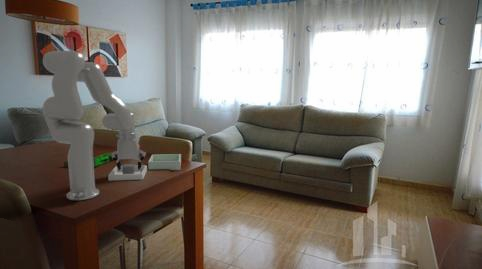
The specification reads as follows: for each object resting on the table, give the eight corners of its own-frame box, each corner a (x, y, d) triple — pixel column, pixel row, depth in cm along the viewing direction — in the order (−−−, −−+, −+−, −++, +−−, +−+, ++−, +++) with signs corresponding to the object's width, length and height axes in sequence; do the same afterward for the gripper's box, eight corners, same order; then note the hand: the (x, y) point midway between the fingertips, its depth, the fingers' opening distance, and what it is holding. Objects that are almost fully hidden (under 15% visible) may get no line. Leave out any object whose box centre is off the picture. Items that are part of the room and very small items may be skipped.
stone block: (133, 176, 157) (132, 166, 156) (122, 176, 156) (122, 167, 155) (134, 173, 162) (134, 164, 161) (124, 173, 161) (124, 164, 160)
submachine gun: (49, 162, 171) (89, 162, 166) (85, 151, 199) (120, 151, 195) (50, 170, 172) (90, 171, 167) (86, 159, 200) (120, 159, 195)
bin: (179, 169, 172) (179, 161, 171) (148, 170, 170) (148, 162, 169) (180, 162, 189) (180, 154, 188) (152, 162, 186) (152, 154, 185)
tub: (142, 181, 153) (142, 174, 152) (108, 182, 150) (108, 175, 149) (147, 171, 168) (146, 165, 167) (116, 172, 166) (116, 166, 165)
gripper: (107, 138, 151) (110, 172, 154) (144, 137, 153) (145, 170, 157) (111, 135, 158) (113, 167, 161) (146, 134, 161) (147, 166, 164)
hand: (129, 169), depth 159 cm, fingers open, 9 cm apart
